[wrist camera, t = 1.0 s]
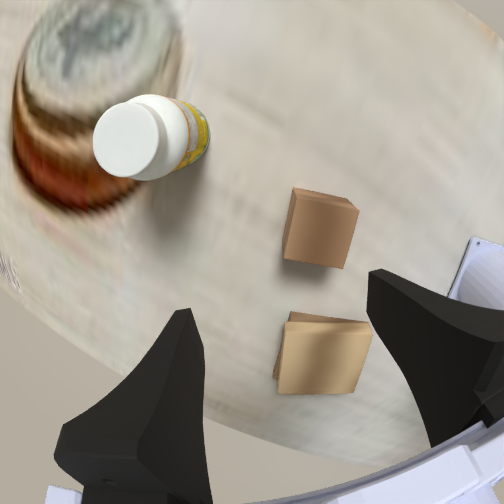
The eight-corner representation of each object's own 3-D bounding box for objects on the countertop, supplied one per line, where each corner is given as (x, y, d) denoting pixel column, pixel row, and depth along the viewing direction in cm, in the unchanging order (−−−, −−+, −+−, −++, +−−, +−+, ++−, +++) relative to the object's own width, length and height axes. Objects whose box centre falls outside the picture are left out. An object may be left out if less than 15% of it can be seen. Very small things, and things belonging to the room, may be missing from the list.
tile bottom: (366, 318, 29) (371, 328, 27) (341, 374, 32) (344, 385, 30) (290, 307, 29) (291, 318, 27) (273, 367, 32) (273, 378, 30)
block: (346, 198, 24) (359, 210, 20) (333, 248, 26) (342, 268, 22) (293, 186, 24) (296, 197, 20) (282, 239, 26) (283, 258, 22)
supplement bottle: (210, 100, 21) (172, 81, 13) (211, 166, 23) (175, 188, 15) (146, 106, 22) (81, 99, 13) (149, 169, 24) (87, 193, 15)
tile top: (368, 322, 27) (373, 334, 25) (350, 381, 30) (353, 392, 28) (284, 321, 27) (285, 333, 26) (277, 381, 30) (277, 393, 29)
